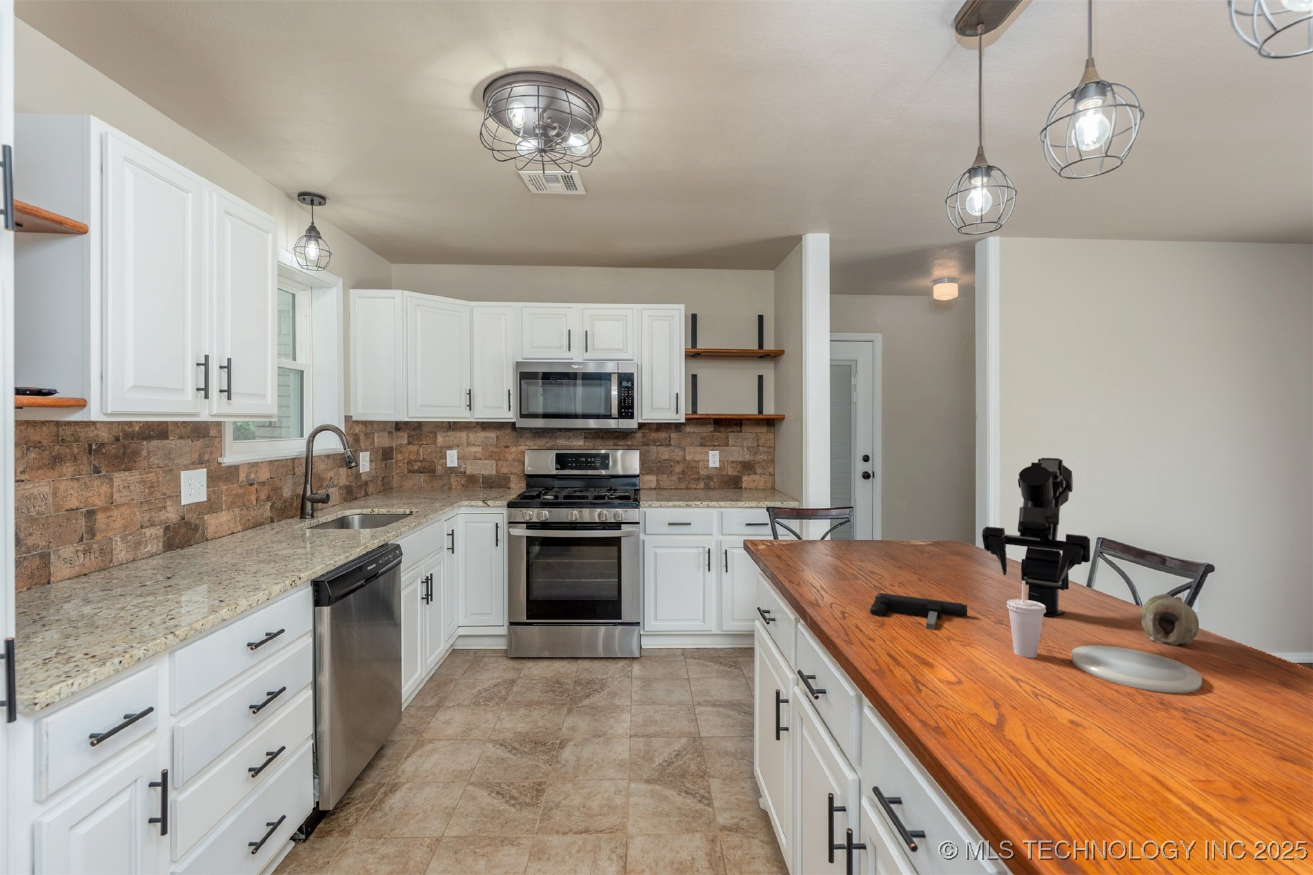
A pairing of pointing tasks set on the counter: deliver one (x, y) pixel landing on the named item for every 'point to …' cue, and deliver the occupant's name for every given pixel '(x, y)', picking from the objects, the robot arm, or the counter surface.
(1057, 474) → the robot arm
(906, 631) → the counter surface
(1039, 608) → the smoothie
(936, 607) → the door handle
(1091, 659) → the plate
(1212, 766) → the counter surface
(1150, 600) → the olive hollow round lump
